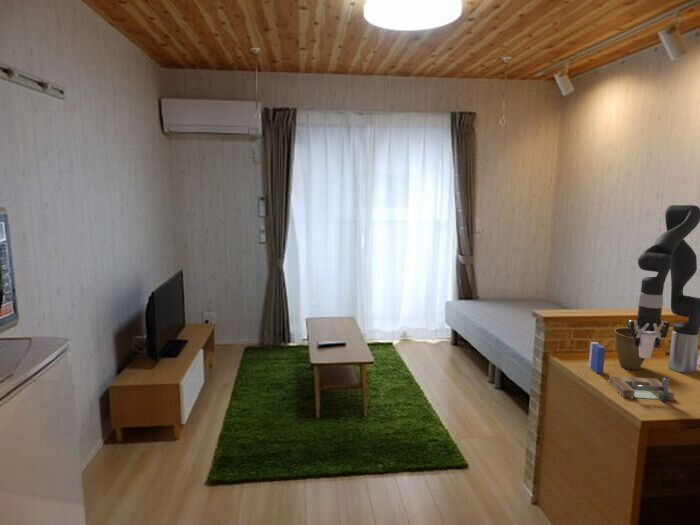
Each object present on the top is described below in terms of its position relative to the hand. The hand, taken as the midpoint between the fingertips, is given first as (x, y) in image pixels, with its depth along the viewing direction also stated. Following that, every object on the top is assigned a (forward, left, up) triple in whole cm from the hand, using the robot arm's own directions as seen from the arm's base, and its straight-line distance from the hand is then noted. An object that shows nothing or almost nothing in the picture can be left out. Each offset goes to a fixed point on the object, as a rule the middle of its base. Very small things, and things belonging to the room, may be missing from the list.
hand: (645, 346), depth 176 cm
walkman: (+9, -22, -20) cm, 31 cm away
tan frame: (0, -2, -19) cm, 19 cm away
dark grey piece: (0, +6, -19) cm, 20 cm away
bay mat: (0, 0, -19) cm, 19 cm away
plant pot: (-8, -28, -20) cm, 35 cm away
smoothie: (0, 0, -4) cm, 4 cm away
